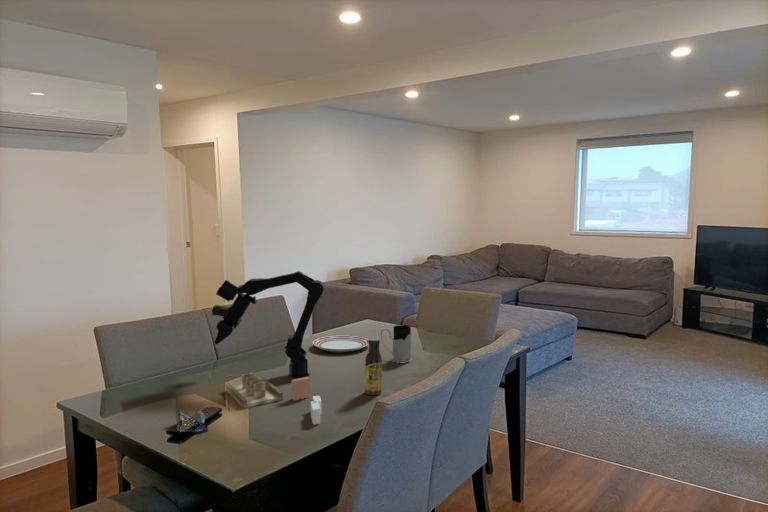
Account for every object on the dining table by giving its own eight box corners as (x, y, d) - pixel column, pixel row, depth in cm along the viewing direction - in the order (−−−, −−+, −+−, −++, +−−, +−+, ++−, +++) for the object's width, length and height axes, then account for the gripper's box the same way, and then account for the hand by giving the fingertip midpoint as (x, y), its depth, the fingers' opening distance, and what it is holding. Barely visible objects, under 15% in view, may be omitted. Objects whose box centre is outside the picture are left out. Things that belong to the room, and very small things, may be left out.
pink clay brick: (307, 395, 189) (307, 376, 189) (309, 397, 188) (309, 378, 187) (292, 399, 186) (291, 379, 185) (294, 400, 184) (293, 381, 184)
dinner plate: (338, 337, 272) (338, 331, 272) (381, 345, 256) (381, 339, 256) (300, 349, 250) (300, 343, 250) (344, 359, 234) (344, 352, 234)
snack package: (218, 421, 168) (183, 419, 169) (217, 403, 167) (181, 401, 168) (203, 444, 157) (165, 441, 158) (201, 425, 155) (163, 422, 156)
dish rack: (262, 383, 202) (262, 368, 201) (282, 399, 185) (282, 382, 185) (226, 391, 194) (225, 374, 194) (243, 408, 178) (243, 390, 177)
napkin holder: (320, 429, 162) (320, 411, 161) (290, 423, 166) (289, 405, 166) (344, 412, 175) (344, 395, 175) (315, 406, 180) (315, 390, 179)
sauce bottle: (369, 397, 187) (368, 342, 185) (361, 391, 193) (361, 338, 191) (385, 394, 190) (385, 340, 188) (377, 388, 196) (377, 336, 194)
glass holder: (409, 364, 226) (409, 330, 224) (377, 361, 230) (377, 327, 229) (414, 358, 234) (414, 325, 232) (384, 355, 238) (384, 323, 237)
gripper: (226, 293, 216) (206, 325, 217) (215, 301, 197) (193, 336, 198) (249, 307, 217) (230, 338, 218) (241, 316, 199) (219, 351, 199)
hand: (218, 340), depth 208 cm, fingers open, 9 cm apart
